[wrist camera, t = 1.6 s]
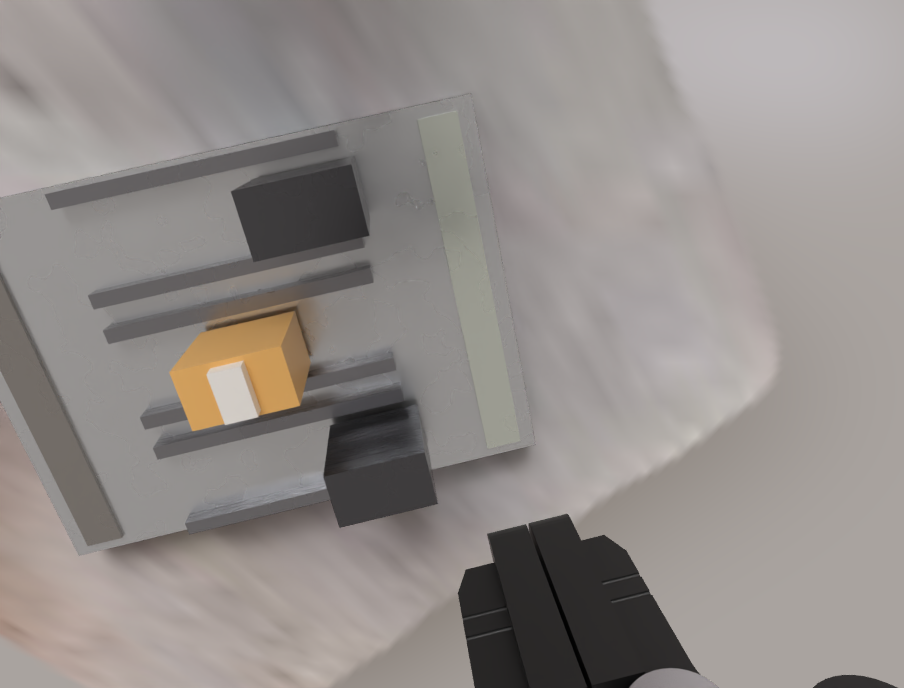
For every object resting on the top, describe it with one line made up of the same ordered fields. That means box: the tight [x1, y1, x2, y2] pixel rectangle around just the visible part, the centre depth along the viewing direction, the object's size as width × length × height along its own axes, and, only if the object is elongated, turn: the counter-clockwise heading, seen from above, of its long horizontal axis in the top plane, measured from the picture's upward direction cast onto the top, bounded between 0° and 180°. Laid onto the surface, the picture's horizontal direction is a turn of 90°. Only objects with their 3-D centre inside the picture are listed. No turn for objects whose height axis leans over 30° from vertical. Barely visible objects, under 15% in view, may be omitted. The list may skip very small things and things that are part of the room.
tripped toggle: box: [169, 311, 311, 431], centre depth 25 cm, size 2×4×5 cm, turn 102°
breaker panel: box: [0, 94, 536, 556], centre depth 26 cm, size 16×22×7 cm
